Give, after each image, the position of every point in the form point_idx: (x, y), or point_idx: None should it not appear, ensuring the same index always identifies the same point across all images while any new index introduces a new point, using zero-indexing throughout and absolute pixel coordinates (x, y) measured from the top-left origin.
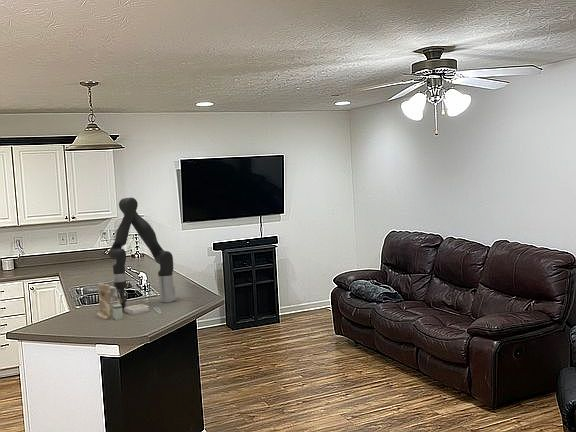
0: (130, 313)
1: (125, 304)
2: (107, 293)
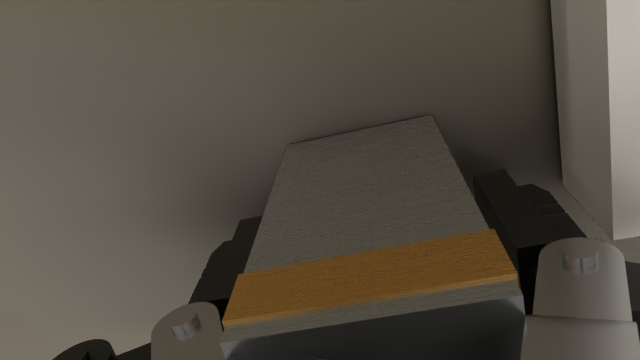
0: None
1: (530, 206)
2: None
